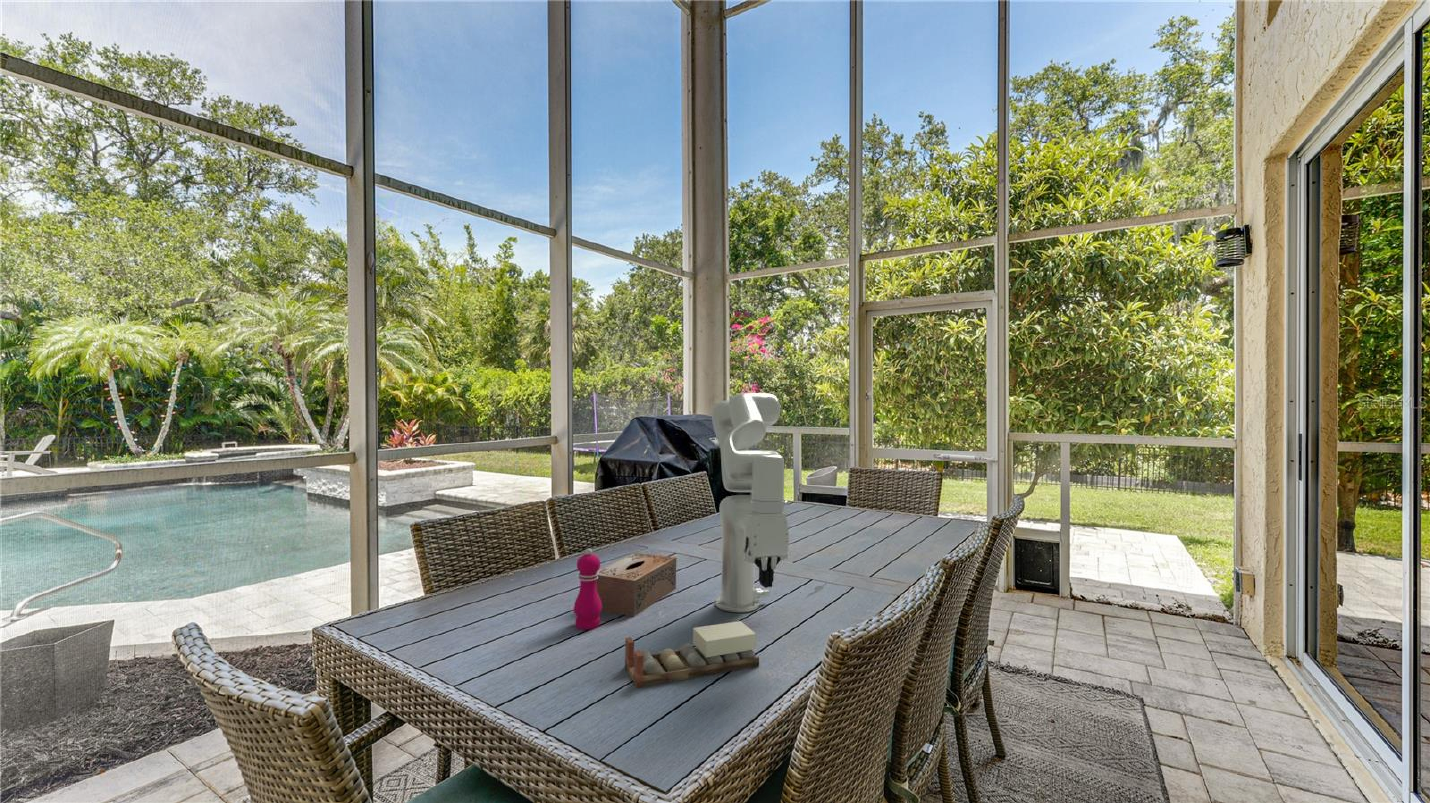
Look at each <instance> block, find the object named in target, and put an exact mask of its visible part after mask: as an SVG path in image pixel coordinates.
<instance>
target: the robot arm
mask: <svg viewBox="0 0 1430 803" xmlns="http://www.w3.org/2000/svg"><path fill="white" fill-rule="evenodd" d="M780 417H781V404H780V402H779V399H778V397H776V396H775V395H774V394H772V393H768V392H765V393H763V392H761V393H760V392H758V393H757V392H741V393H737V394H735V395H732V397H730V399H729V400H727V399H726V400H722V401H719V402H717V403H715V404H714V405H713V408H712V411H711V421H712V427H713V431H714V434H715V436H716V439H717V442H718V445H719V449H720V460H721V462H720V463H721V475H722V476H721V477H722V478H721V479H722V484H723V487H724V489H725V490H726V491H727V492H733V493H751V495H750V494H736V495H731V496H725V498H723V499H722V500H721V501H720V503H719V508H718V509H719V512H718V513H719V520H720V526H721V574H720V575H721V576H720V577H721V579H720V582H721V583H720V585H721V586H720V596H718V597H717V598H716V599H715V606H716V608H718V609H720V610H722V611H726V612H731V613H749V612H752V611H755V610H757V609H758V608H760V598H765V597H766V598H767V597H770V590H769V589H766V588H773V583H774V573H775V572H774V571H775V569H777V565H778V564H779V563H780V561H783V560H787V559H788V556H789V555H788V552H789V548H790V547H789V545H790V539H789V538H790V537H789V534H790V533H789V524H788V519H787V515H786V514H787V513H786V512H784V511H785V508H786V507H788V506H789V502H788V501H787V500H785V495H784V493H785V491H784V490H785V460H784V457H783V456H782V455H781V454H780V453H779V452H777V451H776V450H759V449H758V450H751V449H750V447H753V446H755V445H756V444H758V443H760V442H761V441H762V440H763V439H764V438H765V437H766V436H765V435H766V434H767V428H769V427H771V426H773V425H775V424H776V423H777V422H778V421H779V418H780ZM755 565H756V566H757V568H758V582H759V585H761V586H762V587H764V588H765V589H763V590H762V589H761V588H755V570H756V569H755V567H756V566H755Z"/></svg>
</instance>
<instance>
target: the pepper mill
mask: <svg viewBox="0 0 1430 803" xmlns="http://www.w3.org/2000/svg"><path fill="white" fill-rule="evenodd" d="M584 552H585V554H583V555H581V556H580V557H579V558H578V559H577V562H576V568H577V570H578V571H579V573H578V580H579V583H580V584H579V585H580V586H579V591H578V595H577V597H576V599H575V601H574V605H573V613H574V615H575V616H576V618H575V619H574V620H575V623H574V624H575V627H576V628H577V629H579V630H594V629H596V628H598V627H599V626H600V624H601V617H600V614H601V613H602V612H603V611H602V603H601V600H600V597H599V595H598V592H597V588H596V580H597V579H598V572H597V571H598V570H599V569H601V560H600V558H599V557H598V556H597V555H595V554H593V550H592V548H586V549H585V551H584Z"/></svg>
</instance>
